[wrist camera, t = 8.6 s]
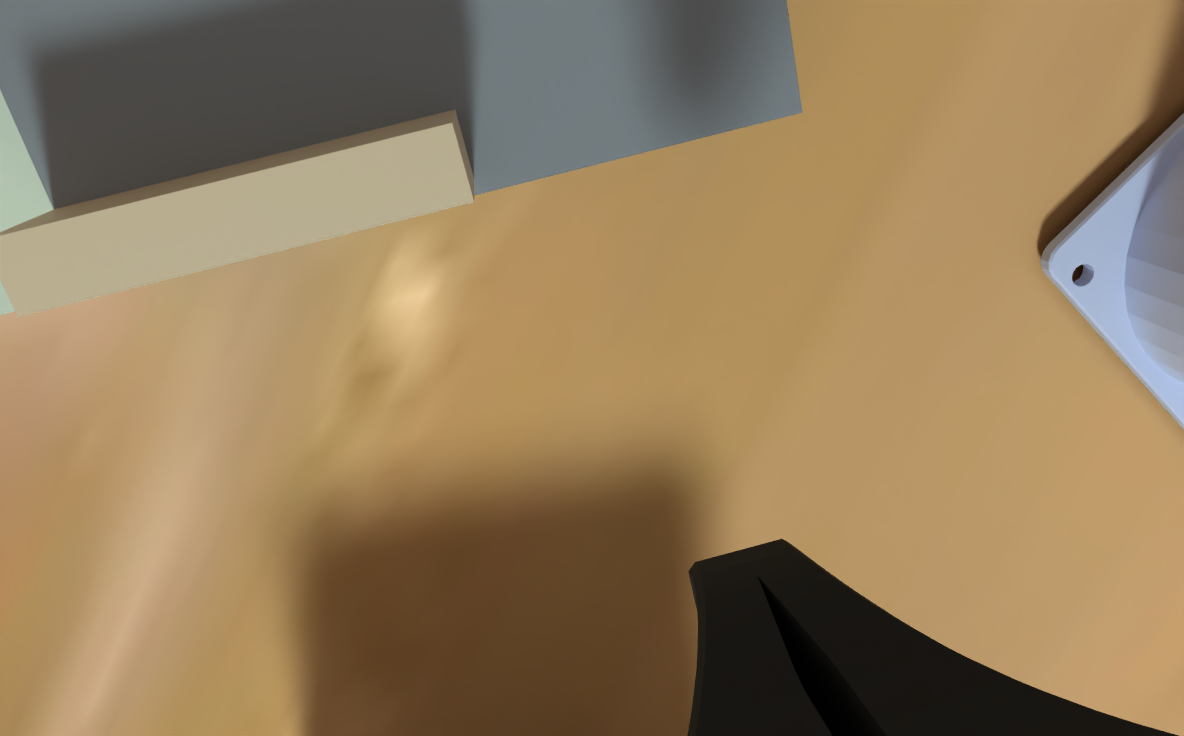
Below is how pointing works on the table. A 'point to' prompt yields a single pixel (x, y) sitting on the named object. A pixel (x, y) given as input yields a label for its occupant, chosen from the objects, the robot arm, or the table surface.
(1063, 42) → the table surface
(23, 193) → the pale green block
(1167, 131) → the robot arm
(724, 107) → the deck
